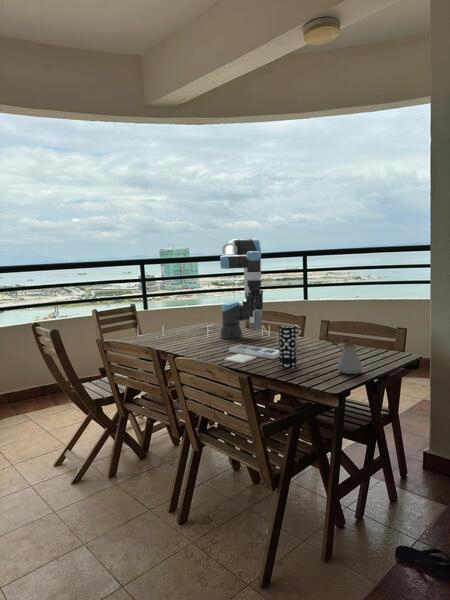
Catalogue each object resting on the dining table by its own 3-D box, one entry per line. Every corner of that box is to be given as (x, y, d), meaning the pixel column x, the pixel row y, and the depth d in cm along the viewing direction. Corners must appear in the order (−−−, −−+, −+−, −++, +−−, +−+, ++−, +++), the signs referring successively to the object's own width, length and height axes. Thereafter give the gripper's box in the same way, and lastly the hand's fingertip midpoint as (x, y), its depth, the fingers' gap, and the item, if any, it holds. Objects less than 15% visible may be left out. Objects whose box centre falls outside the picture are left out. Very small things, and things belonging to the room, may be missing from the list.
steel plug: (254, 328, 234) (253, 310, 233) (261, 329, 231) (260, 311, 230) (249, 329, 231) (249, 311, 229) (256, 330, 228) (255, 312, 226)
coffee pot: (368, 373, 190) (368, 341, 188) (350, 378, 184) (351, 344, 182) (332, 363, 208) (332, 333, 206) (315, 367, 202) (315, 337, 200)
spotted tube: (286, 369, 200) (285, 328, 197) (276, 365, 207) (275, 326, 205) (300, 367, 204) (299, 326, 201) (289, 363, 211) (289, 324, 208)
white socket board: (229, 351, 238) (229, 347, 238) (240, 348, 246) (239, 344, 245) (273, 359, 219) (273, 354, 219) (283, 355, 227) (283, 350, 226)
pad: (238, 355, 230) (238, 353, 230) (256, 358, 222) (256, 356, 222) (224, 360, 221) (224, 358, 221) (242, 363, 213) (242, 361, 213)
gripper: (250, 281, 218) (251, 325, 221) (269, 278, 232) (269, 320, 235) (238, 280, 223) (239, 323, 226) (257, 278, 237) (258, 318, 239)
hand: (255, 321), depth 230 cm, fingers closed on steel plug, 5 cm apart
